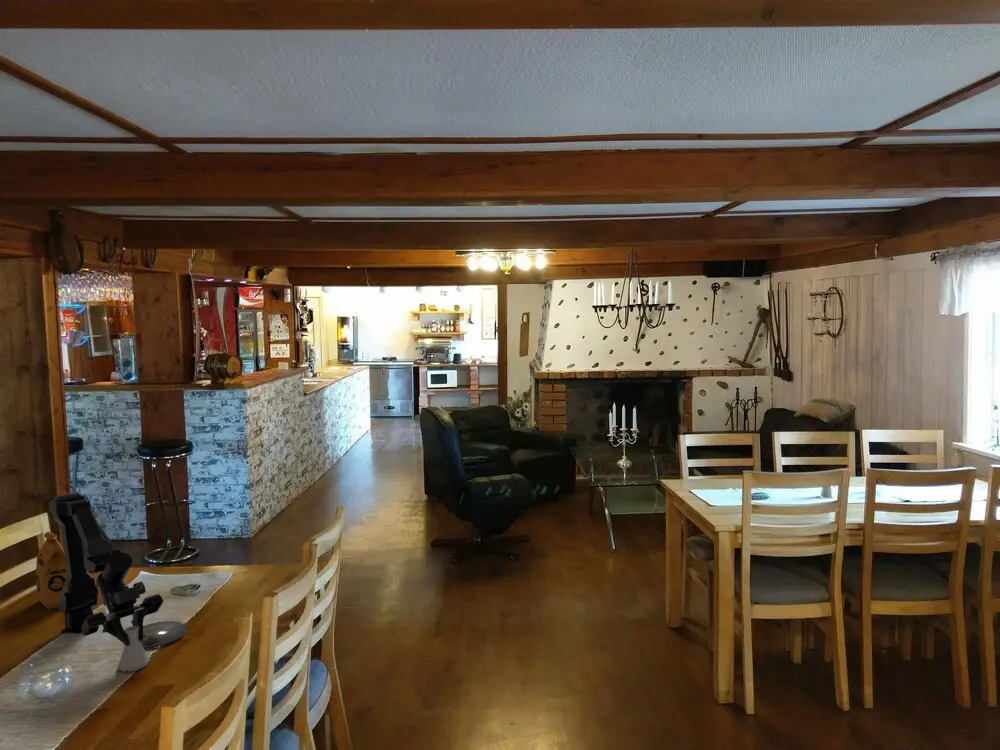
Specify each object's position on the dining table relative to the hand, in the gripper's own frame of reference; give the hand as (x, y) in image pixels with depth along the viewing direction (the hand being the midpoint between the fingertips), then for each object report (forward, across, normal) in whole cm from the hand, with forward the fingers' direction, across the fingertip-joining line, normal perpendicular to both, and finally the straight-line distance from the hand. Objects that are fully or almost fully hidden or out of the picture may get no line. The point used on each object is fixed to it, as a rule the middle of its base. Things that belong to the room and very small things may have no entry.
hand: (135, 642), depth 176 cm
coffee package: (-40, +4, +50) cm, 64 cm away
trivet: (-5, +11, +14) cm, 19 cm away
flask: (+4, 0, +6) cm, 7 cm away
